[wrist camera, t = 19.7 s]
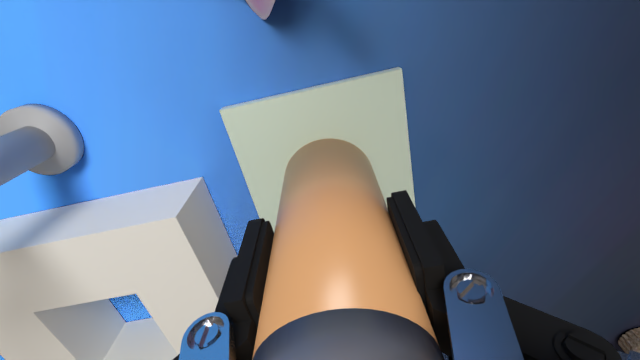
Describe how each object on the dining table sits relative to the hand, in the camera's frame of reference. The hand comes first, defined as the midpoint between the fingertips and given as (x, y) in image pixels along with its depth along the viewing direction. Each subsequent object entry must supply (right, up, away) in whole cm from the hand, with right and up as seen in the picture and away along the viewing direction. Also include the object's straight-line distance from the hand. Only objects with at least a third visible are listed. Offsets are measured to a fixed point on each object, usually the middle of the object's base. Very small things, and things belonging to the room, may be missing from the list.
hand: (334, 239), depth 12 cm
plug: (0, +2, +4) cm, 5 cm away
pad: (0, +3, +6) cm, 6 cm away
